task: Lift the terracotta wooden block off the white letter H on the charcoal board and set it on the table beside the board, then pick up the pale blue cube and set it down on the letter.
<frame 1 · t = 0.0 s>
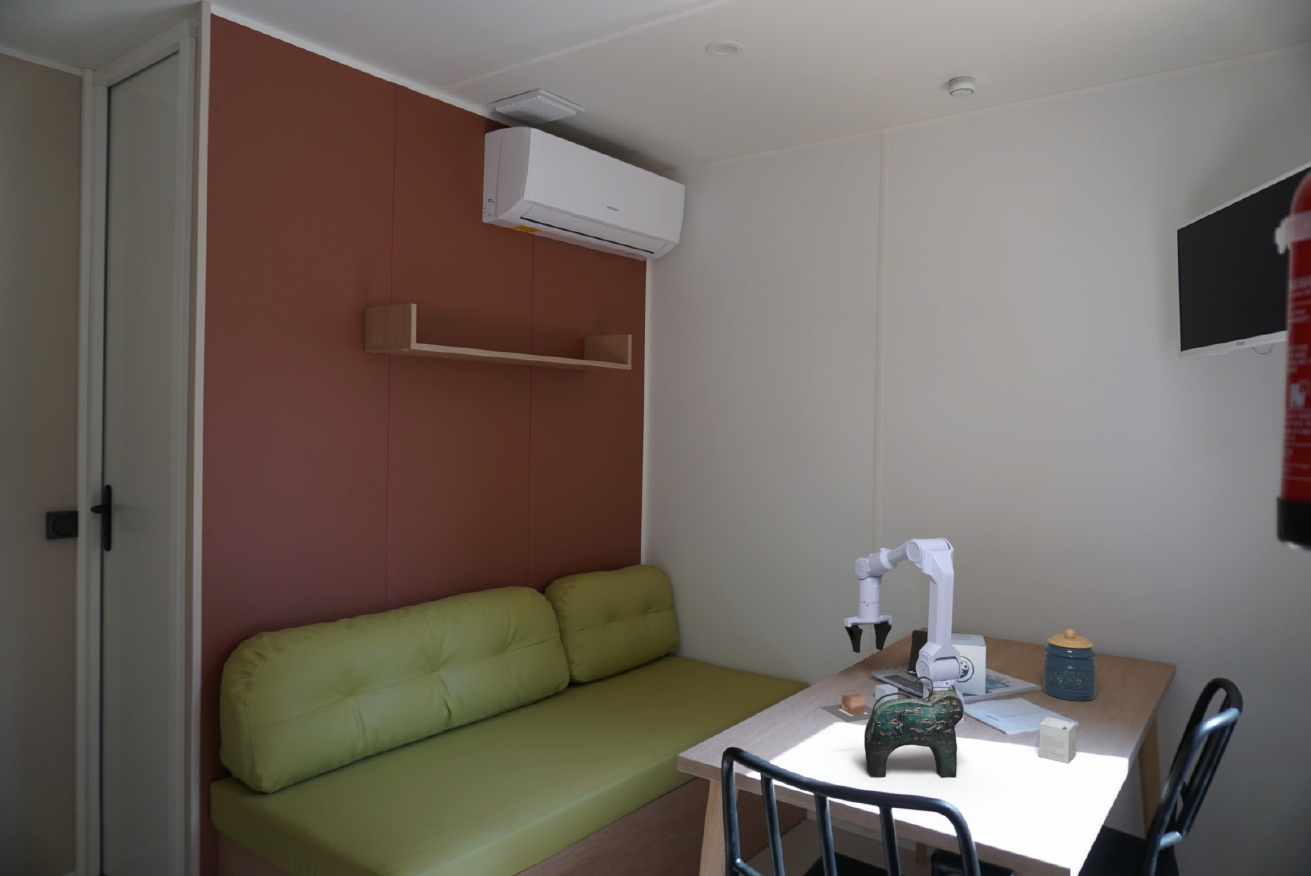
hand: (867, 650, 231), 10 cm above the table, tool pointing down, fingers open, 7 cm apart
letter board: (853, 713, 208), on the table
terracotta block: (853, 711, 208), point 1 cm above the table, touching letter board
skincare box: (1057, 757, 182), on the table
pale blue cube: (886, 702, 218), on the table
canister: (1069, 695, 227), on the table
green animal figurine: (914, 776, 171), on the table
phone stand: (923, 673, 247), on the table
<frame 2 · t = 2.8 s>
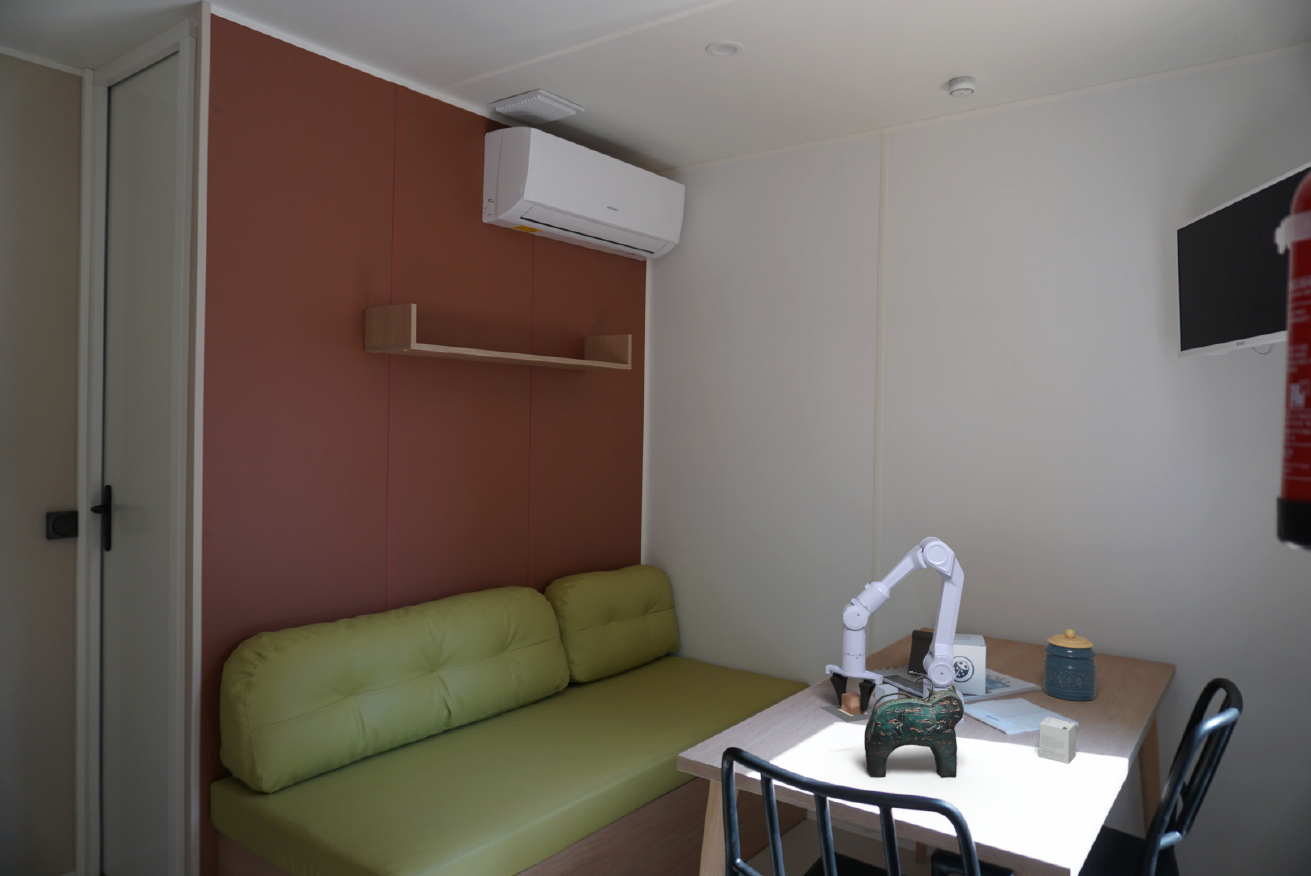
hand: (853, 707, 208), 2 cm above the table, tool pointing down, fingers closed on terracotta block, 5 cm apart
terracotta block: (853, 711, 208), point 1 cm above the table, touching gripper, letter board
everything else where it was.
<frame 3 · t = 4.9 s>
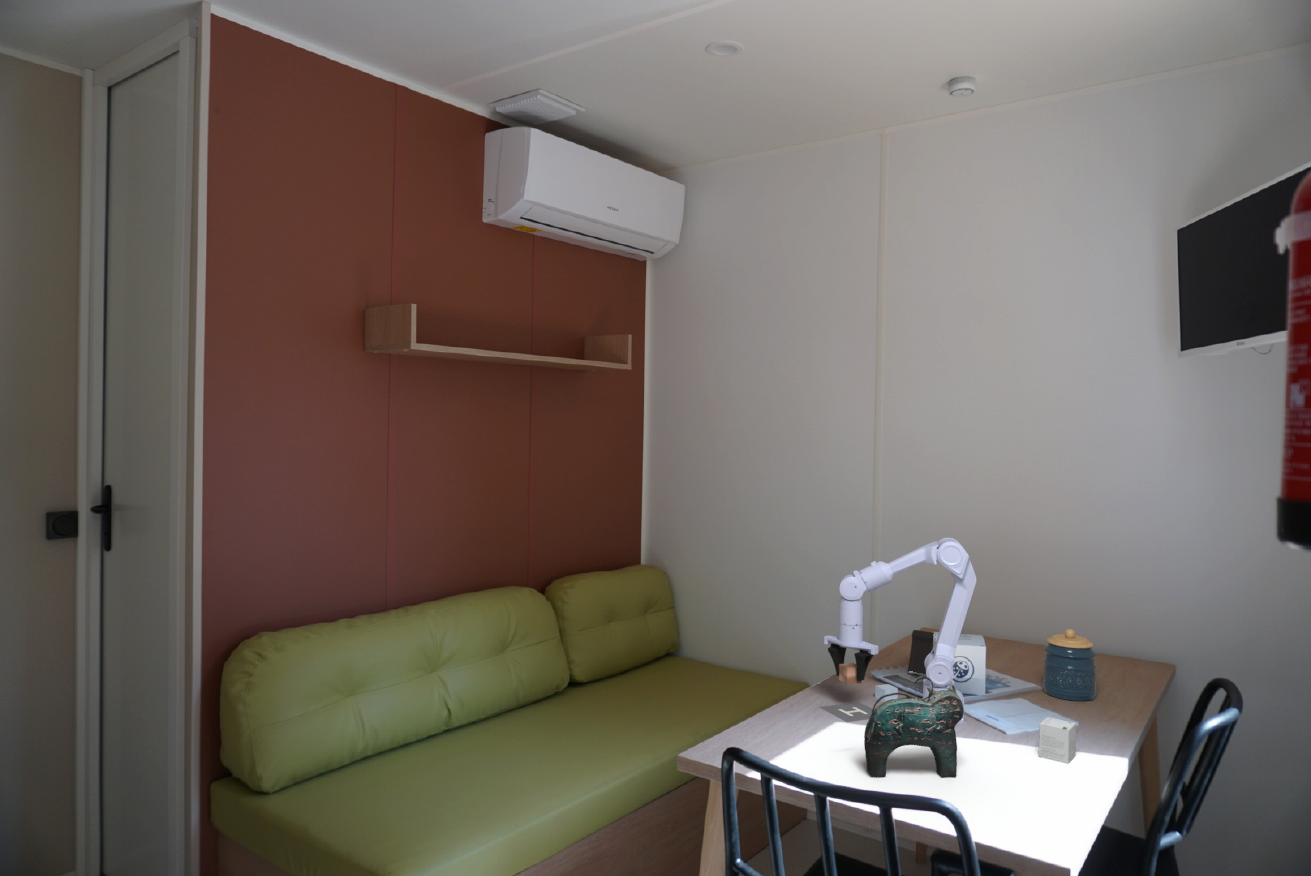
hand: (850, 677, 210), 8 cm above the table, tool pointing down, fingers closed on terracotta block, 5 cm apart
terracotta block: (850, 681, 210), point 7 cm above the table, touching gripper
everything else where it was.
when the fingers open (2 cm above the table, at t = 7.3 s): terracotta block drops 2 cm, on the table.
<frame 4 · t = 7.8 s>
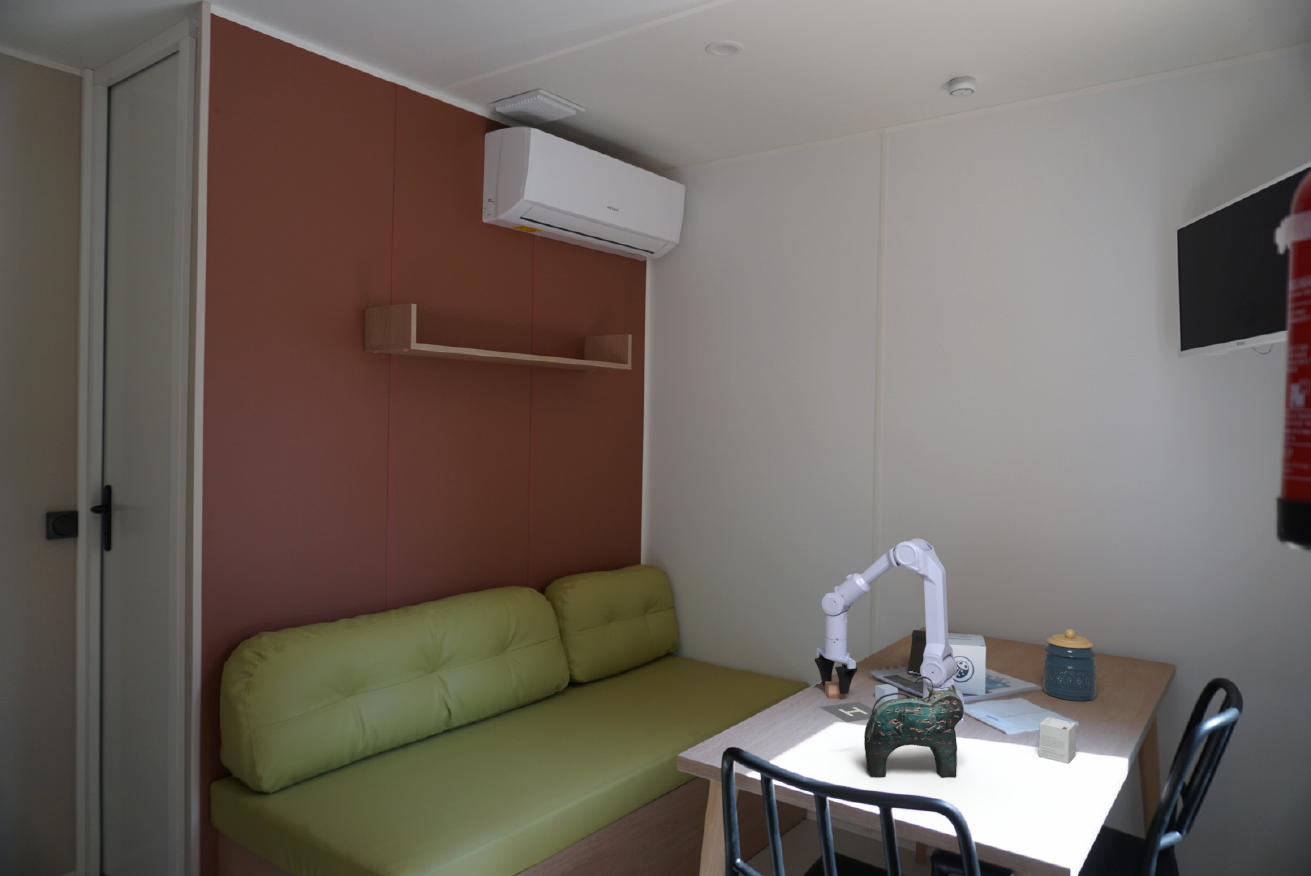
hand: (835, 689, 221), 2 cm above the table, tool pointing down, fingers open, 7 cm apart
terracotta block: (834, 698, 221), on the table
everything else where it was.
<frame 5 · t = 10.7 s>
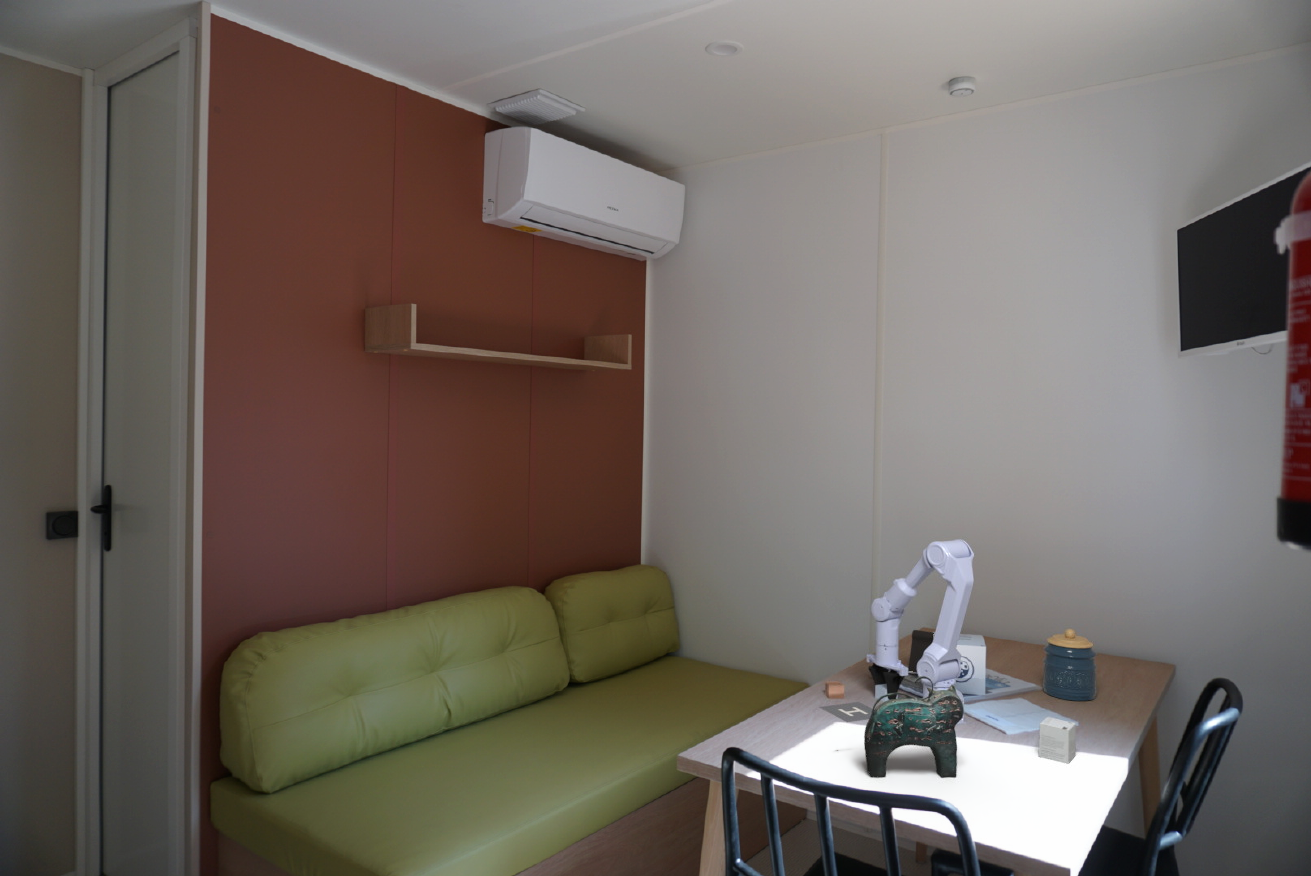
hand: (886, 696, 218), 1 cm above the table, tool pointing down, fingers closed on pale blue cube, 4 cm apart
pale blue cube: (886, 701, 218), on the table, touching gripper
everything else where it was.
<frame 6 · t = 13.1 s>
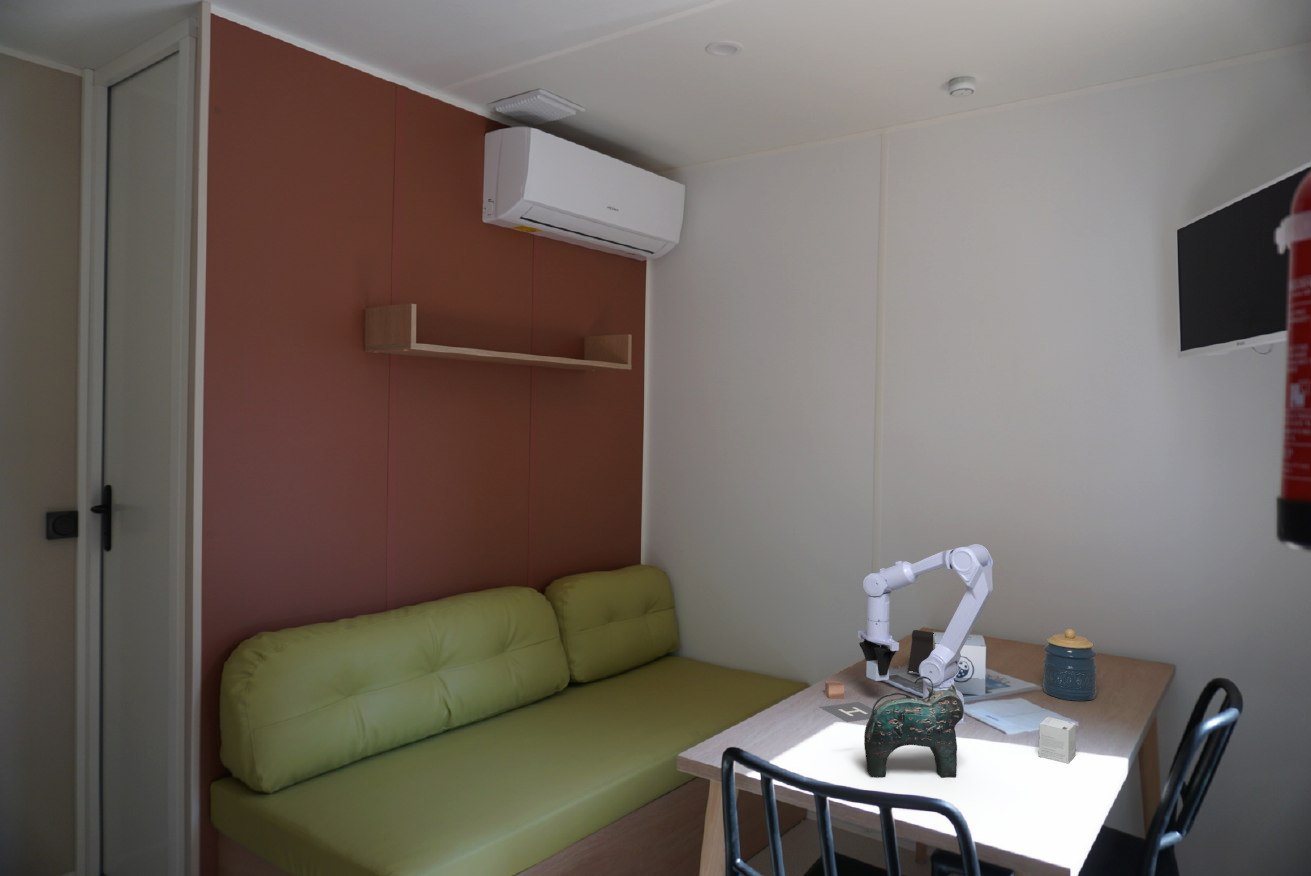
hand: (877, 672, 216), 8 cm above the table, tool pointing down, fingers closed on pale blue cube, 4 cm apart
pale blue cube: (877, 678, 216), point 7 cm above the table, touching gripper
everything else where it was.
when the fingers open (3 cm above the table, at t = 15.3 s): pale blue cube drops 1 cm, resting on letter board.
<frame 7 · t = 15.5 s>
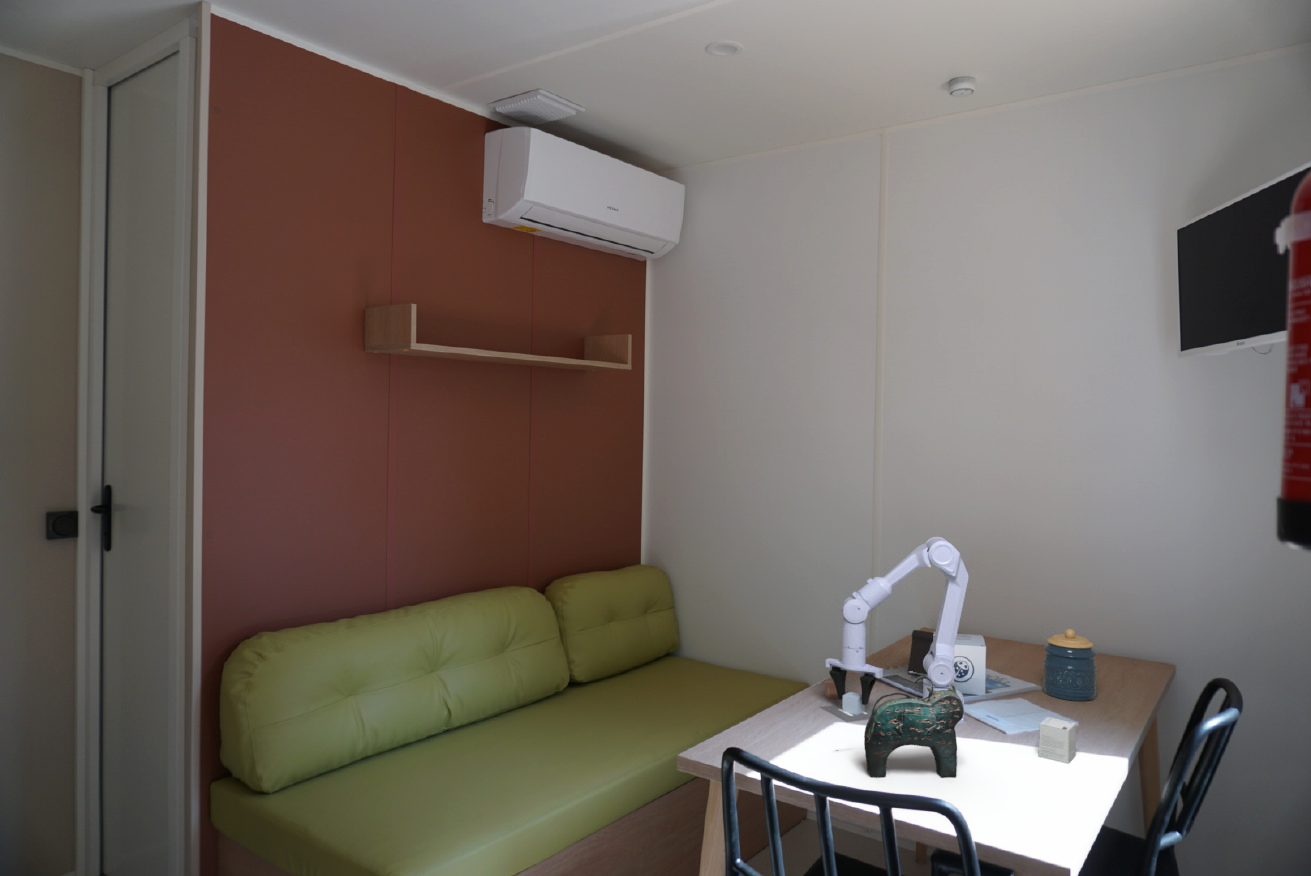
hand: (853, 701, 208), 3 cm above the table, tool pointing down, fingers open, 6 cm apart
pale blue cube: (853, 711, 209), point 1 cm above the table, touching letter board
everything else where it was.
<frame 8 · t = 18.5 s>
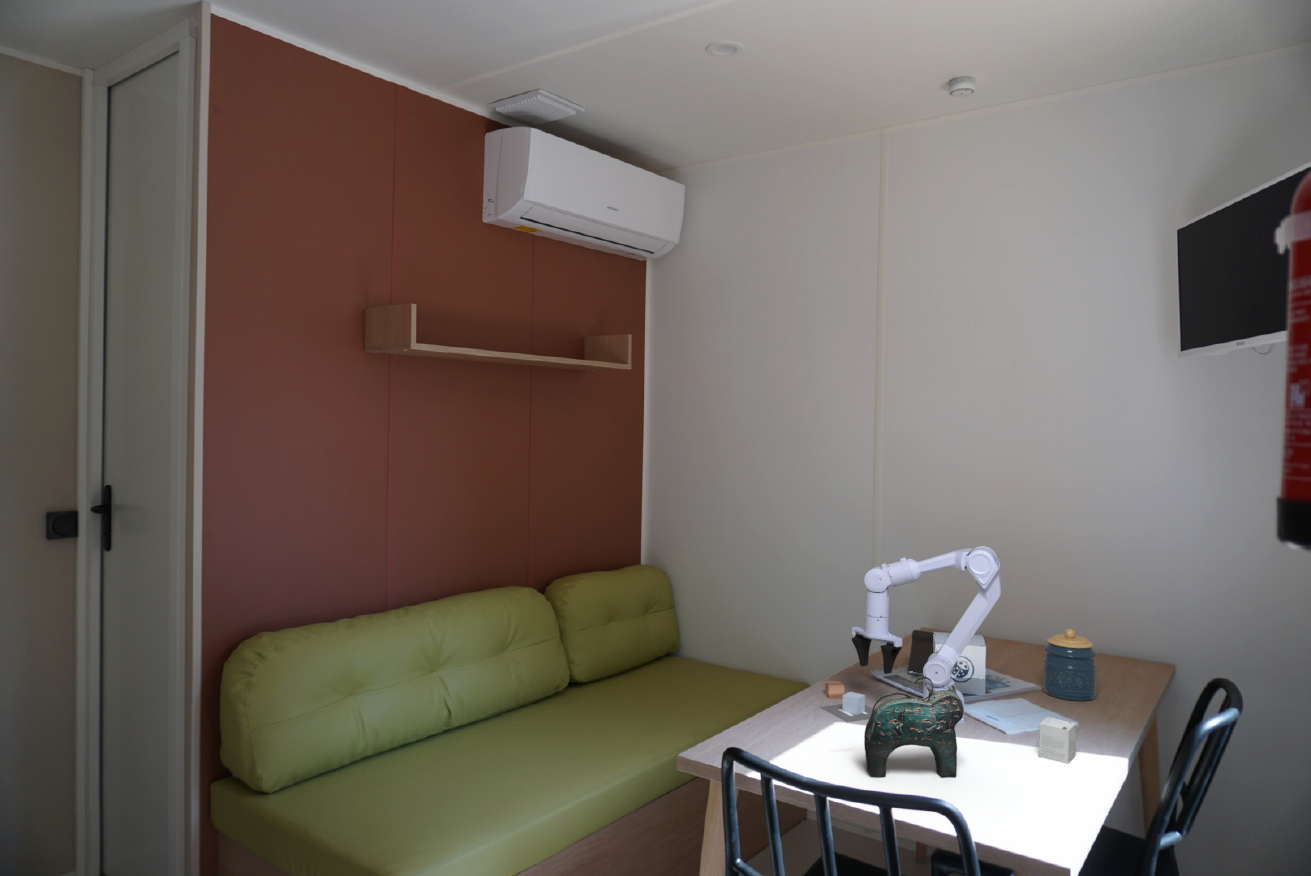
hand: (875, 669, 211), 10 cm above the table, tool pointing down, fingers open, 7 cm apart
nothing on the table moved.
at the end: pale blue cube 0.2 cm off-centre on the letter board, point 0.6 cm above the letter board's base; pale blue cube tilted 0°; terracotta block touching table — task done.
